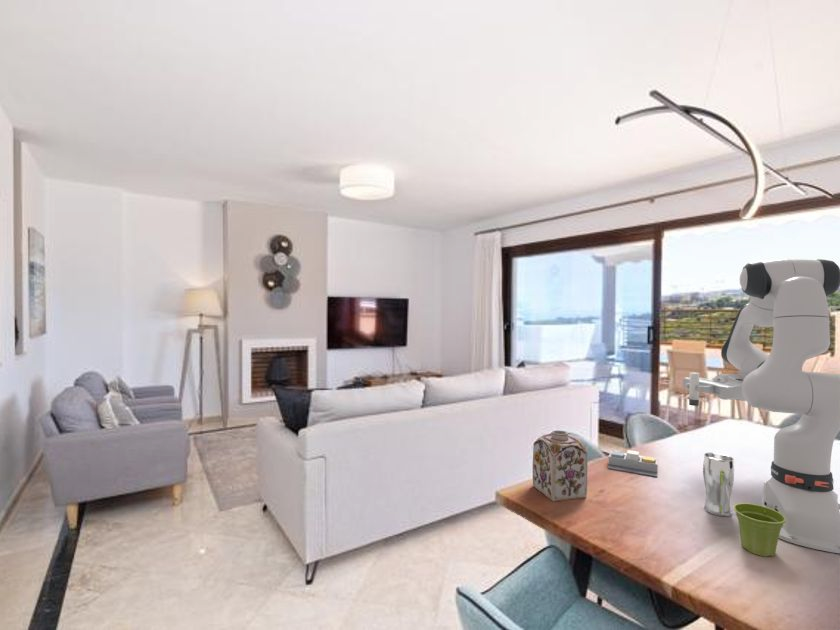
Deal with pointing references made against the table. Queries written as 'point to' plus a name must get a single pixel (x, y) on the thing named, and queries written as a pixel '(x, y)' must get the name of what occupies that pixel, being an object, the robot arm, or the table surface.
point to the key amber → (648, 459)
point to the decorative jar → (560, 466)
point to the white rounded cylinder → (693, 389)
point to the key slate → (618, 454)
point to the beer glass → (718, 483)
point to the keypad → (633, 465)
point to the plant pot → (759, 528)
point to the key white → (633, 455)
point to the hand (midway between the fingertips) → (691, 387)
